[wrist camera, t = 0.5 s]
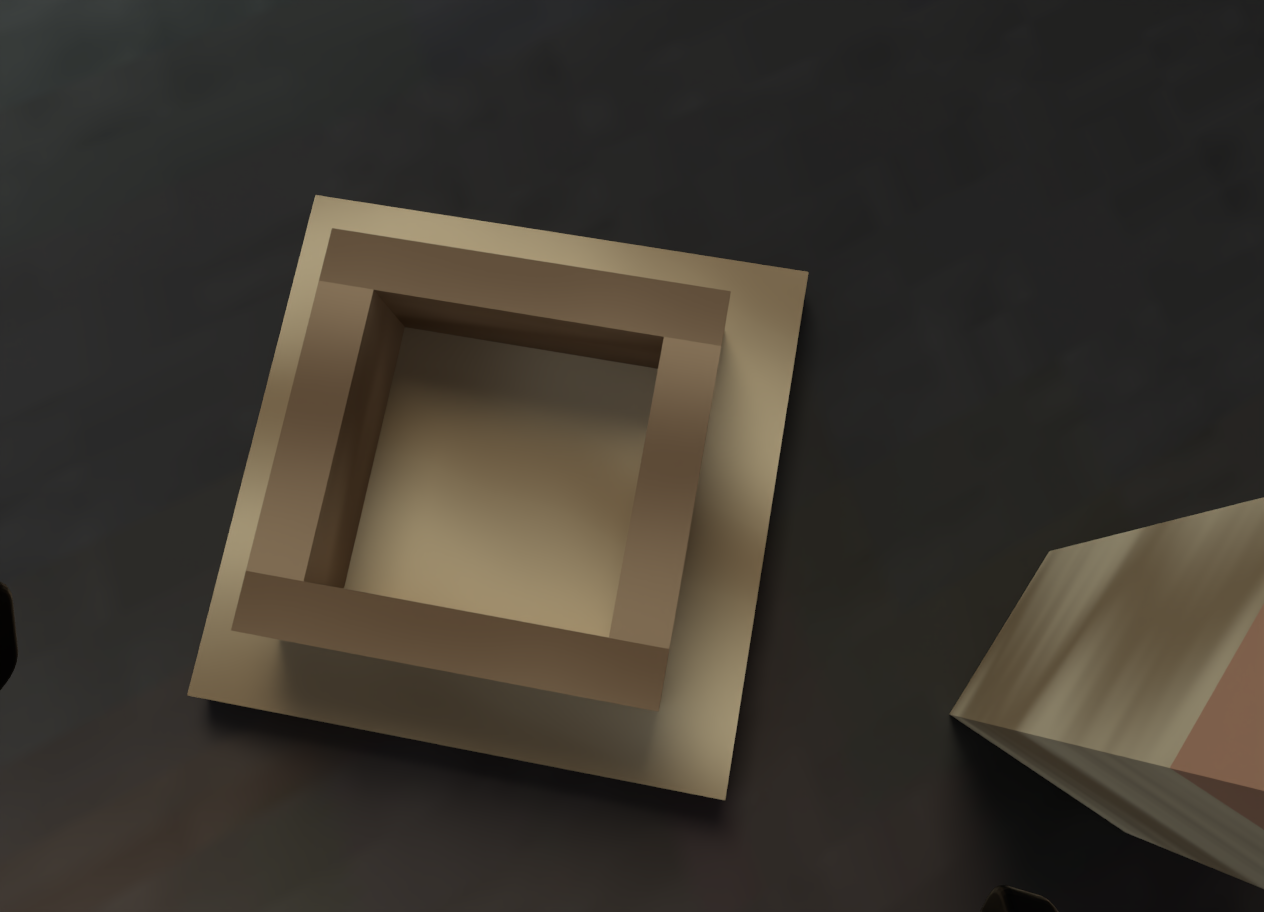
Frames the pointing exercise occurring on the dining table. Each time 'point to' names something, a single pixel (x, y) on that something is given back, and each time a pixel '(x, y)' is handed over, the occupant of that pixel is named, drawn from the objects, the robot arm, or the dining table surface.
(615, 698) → the socket stand
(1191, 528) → the birch post
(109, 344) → the dining table surface
